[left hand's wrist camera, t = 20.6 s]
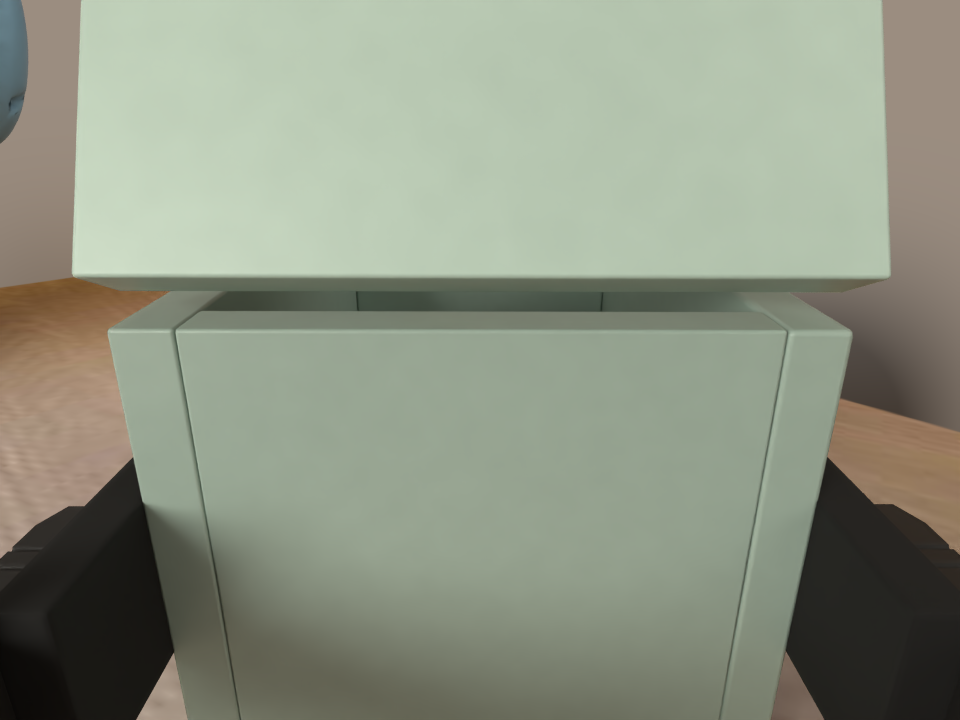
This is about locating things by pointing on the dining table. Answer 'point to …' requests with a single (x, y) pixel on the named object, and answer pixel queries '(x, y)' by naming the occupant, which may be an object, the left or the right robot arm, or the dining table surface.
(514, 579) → the chest
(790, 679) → the dining table surface
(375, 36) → the lid
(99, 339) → the dining table surface
